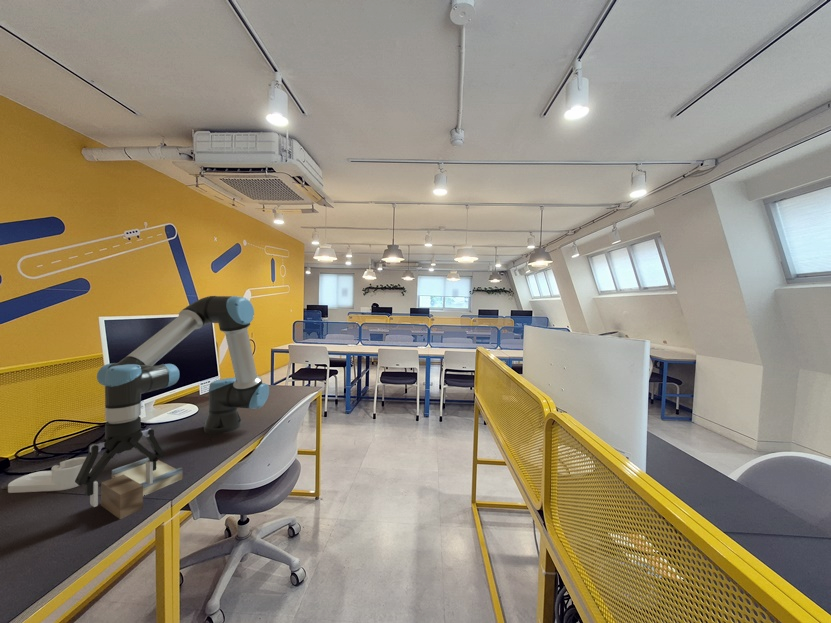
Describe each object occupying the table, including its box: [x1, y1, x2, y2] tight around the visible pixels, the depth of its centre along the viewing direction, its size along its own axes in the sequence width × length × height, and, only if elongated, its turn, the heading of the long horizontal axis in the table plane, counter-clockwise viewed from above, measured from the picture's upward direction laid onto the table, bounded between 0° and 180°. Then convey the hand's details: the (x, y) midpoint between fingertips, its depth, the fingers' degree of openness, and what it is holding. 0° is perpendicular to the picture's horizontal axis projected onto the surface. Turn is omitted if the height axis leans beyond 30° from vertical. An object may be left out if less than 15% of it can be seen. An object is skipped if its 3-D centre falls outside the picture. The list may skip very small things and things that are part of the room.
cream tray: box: [111, 457, 184, 497], centre depth 103 cm, size 12×18×4 cm, turn 63°
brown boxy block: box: [100, 475, 144, 520], centre depth 89 cm, size 5×12×7 cm, turn 64°
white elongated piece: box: [7, 456, 93, 494], centre depth 100 cm, size 20×9×7 cm, turn 98°
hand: (123, 492), depth 90 cm, fingers open, 12 cm apart
